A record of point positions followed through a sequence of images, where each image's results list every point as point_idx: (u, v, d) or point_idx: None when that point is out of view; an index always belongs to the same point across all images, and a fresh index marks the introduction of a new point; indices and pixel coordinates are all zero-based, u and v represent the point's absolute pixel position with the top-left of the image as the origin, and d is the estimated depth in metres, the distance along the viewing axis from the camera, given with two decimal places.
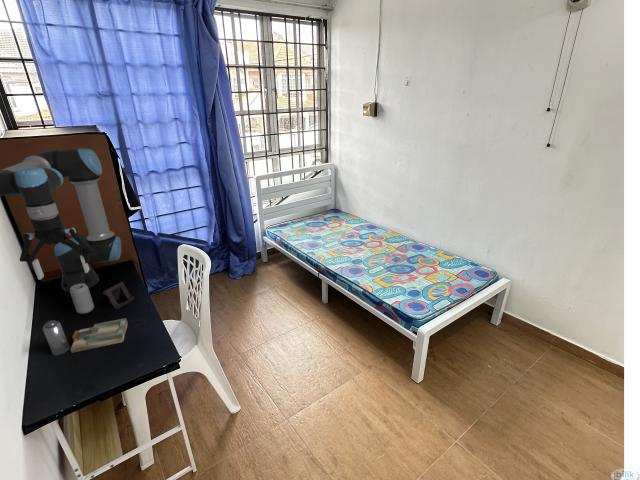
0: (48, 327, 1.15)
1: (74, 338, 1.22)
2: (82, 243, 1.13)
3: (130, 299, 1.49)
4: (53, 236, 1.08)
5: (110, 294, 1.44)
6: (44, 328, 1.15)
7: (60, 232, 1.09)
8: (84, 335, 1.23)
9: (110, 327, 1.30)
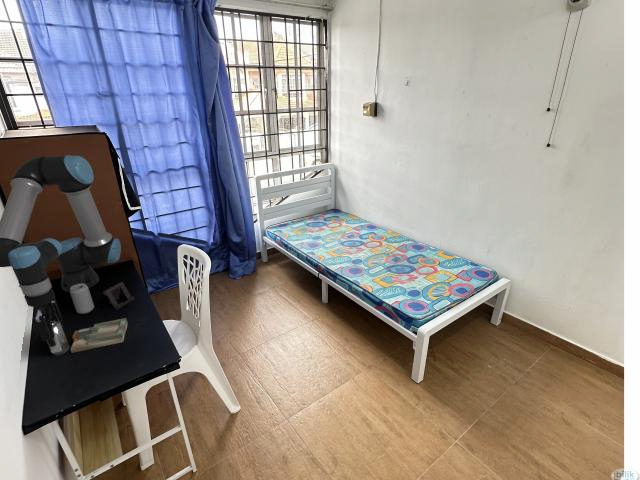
0: None
1: (74, 338, 1.22)
2: None
3: (130, 299, 1.49)
4: None
5: (110, 294, 1.44)
6: None
7: None
8: (84, 335, 1.23)
9: (110, 327, 1.30)
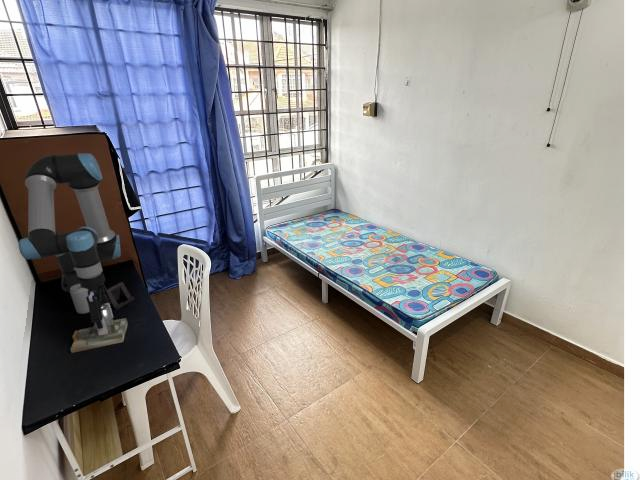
0: None
1: (74, 338, 1.22)
2: (90, 312, 1.15)
3: (130, 299, 1.49)
4: None
5: (110, 294, 1.44)
6: None
7: None
8: (84, 335, 1.23)
9: None
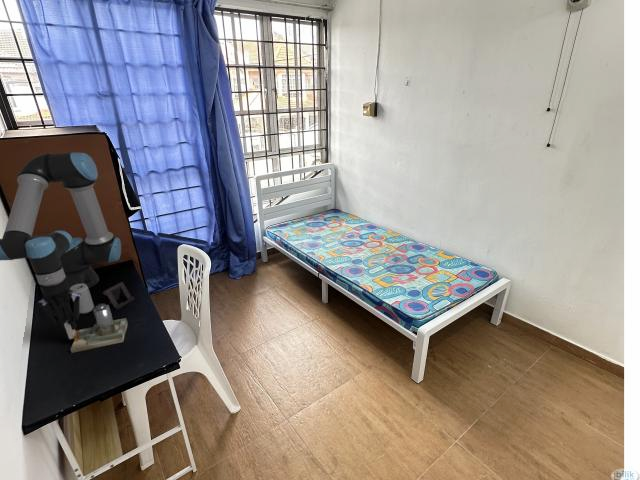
0: (99, 310, 1.21)
1: (75, 338, 1.22)
2: (76, 311, 1.19)
3: (130, 299, 1.49)
4: (60, 298, 1.15)
5: (110, 294, 1.44)
6: (95, 311, 1.22)
7: (67, 294, 1.16)
8: (85, 335, 1.24)
9: None
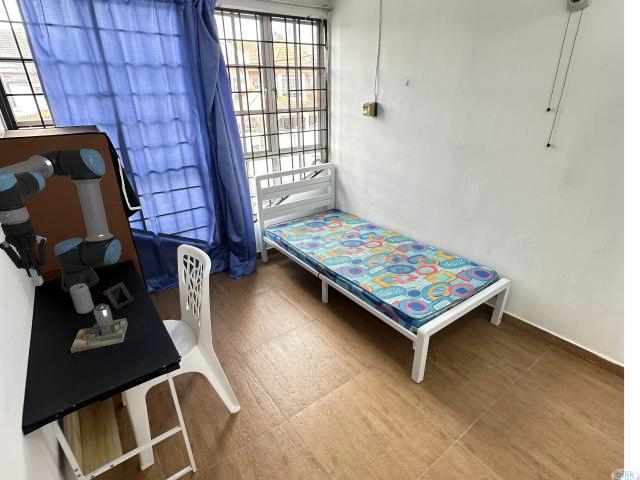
0: (99, 310, 1.21)
1: (84, 336, 1.23)
2: (42, 255, 1.12)
3: (130, 299, 1.49)
4: (24, 240, 1.08)
5: (110, 294, 1.44)
6: (95, 311, 1.22)
7: (32, 236, 1.10)
8: (93, 333, 1.24)
9: None
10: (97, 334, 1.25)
